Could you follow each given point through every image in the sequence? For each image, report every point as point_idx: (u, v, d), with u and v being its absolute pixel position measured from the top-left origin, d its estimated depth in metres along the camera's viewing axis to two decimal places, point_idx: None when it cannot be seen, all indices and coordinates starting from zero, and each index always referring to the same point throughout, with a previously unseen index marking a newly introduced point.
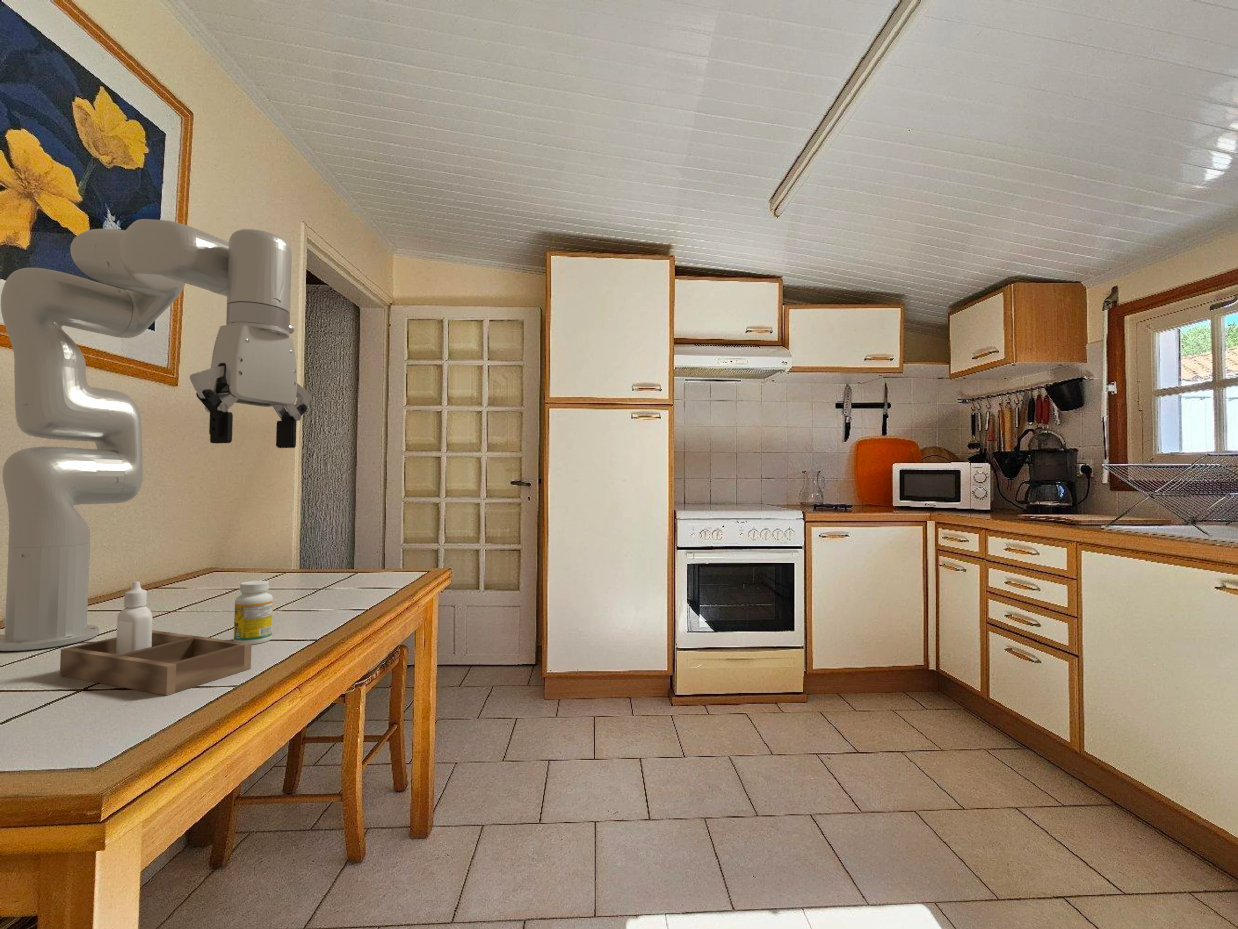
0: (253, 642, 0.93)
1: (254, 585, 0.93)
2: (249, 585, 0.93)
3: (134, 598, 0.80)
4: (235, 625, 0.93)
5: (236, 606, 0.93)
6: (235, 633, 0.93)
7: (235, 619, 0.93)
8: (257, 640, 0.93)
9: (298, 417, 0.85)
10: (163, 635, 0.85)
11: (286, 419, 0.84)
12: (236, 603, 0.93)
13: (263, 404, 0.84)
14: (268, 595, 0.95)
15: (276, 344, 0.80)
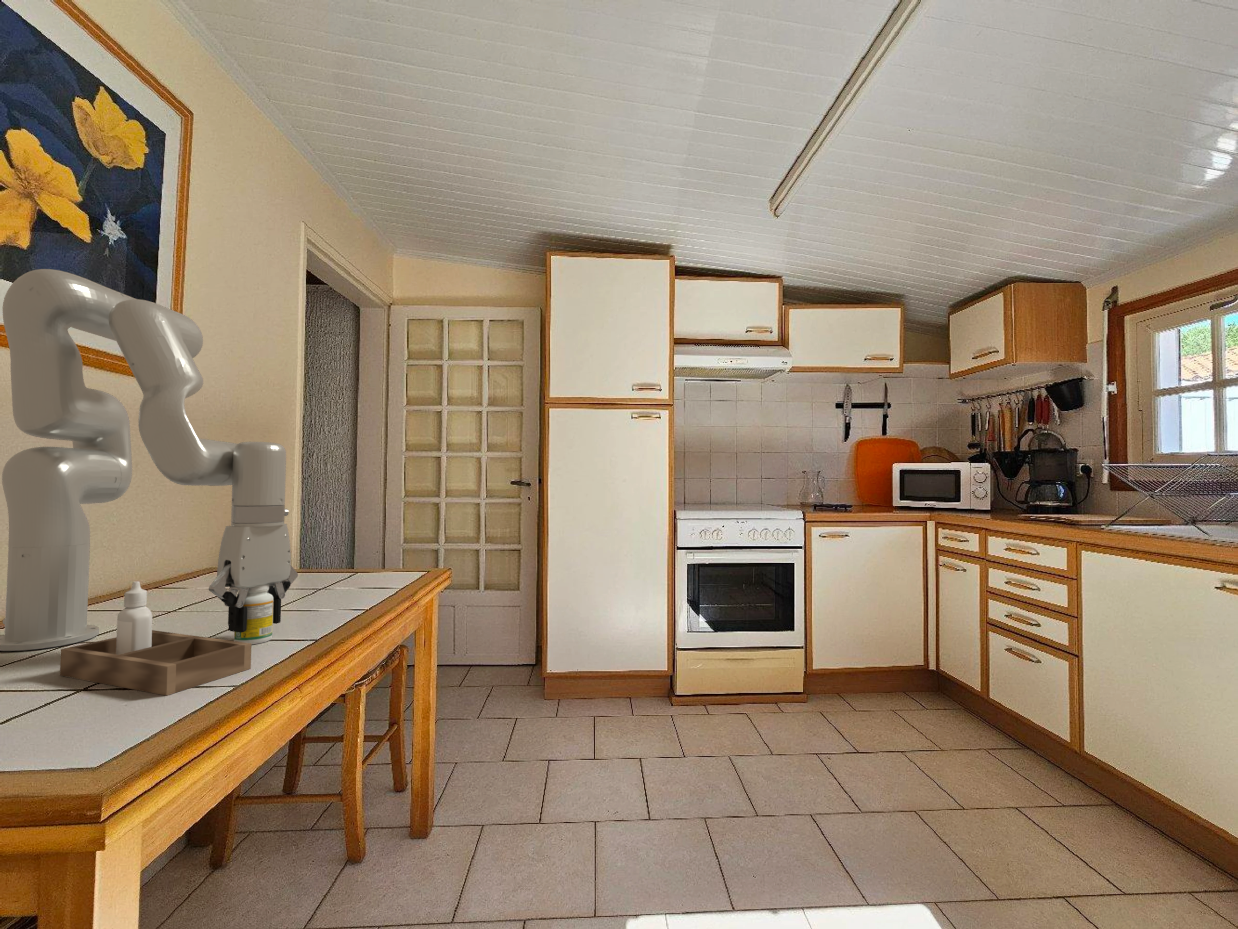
0: (253, 642, 0.93)
1: None
2: None
3: (134, 598, 0.80)
4: None
5: None
6: (235, 633, 0.93)
7: None
8: (257, 640, 0.93)
9: (282, 595, 0.98)
10: (163, 635, 0.85)
11: None
12: None
13: None
14: (268, 595, 0.95)
15: (273, 534, 0.95)
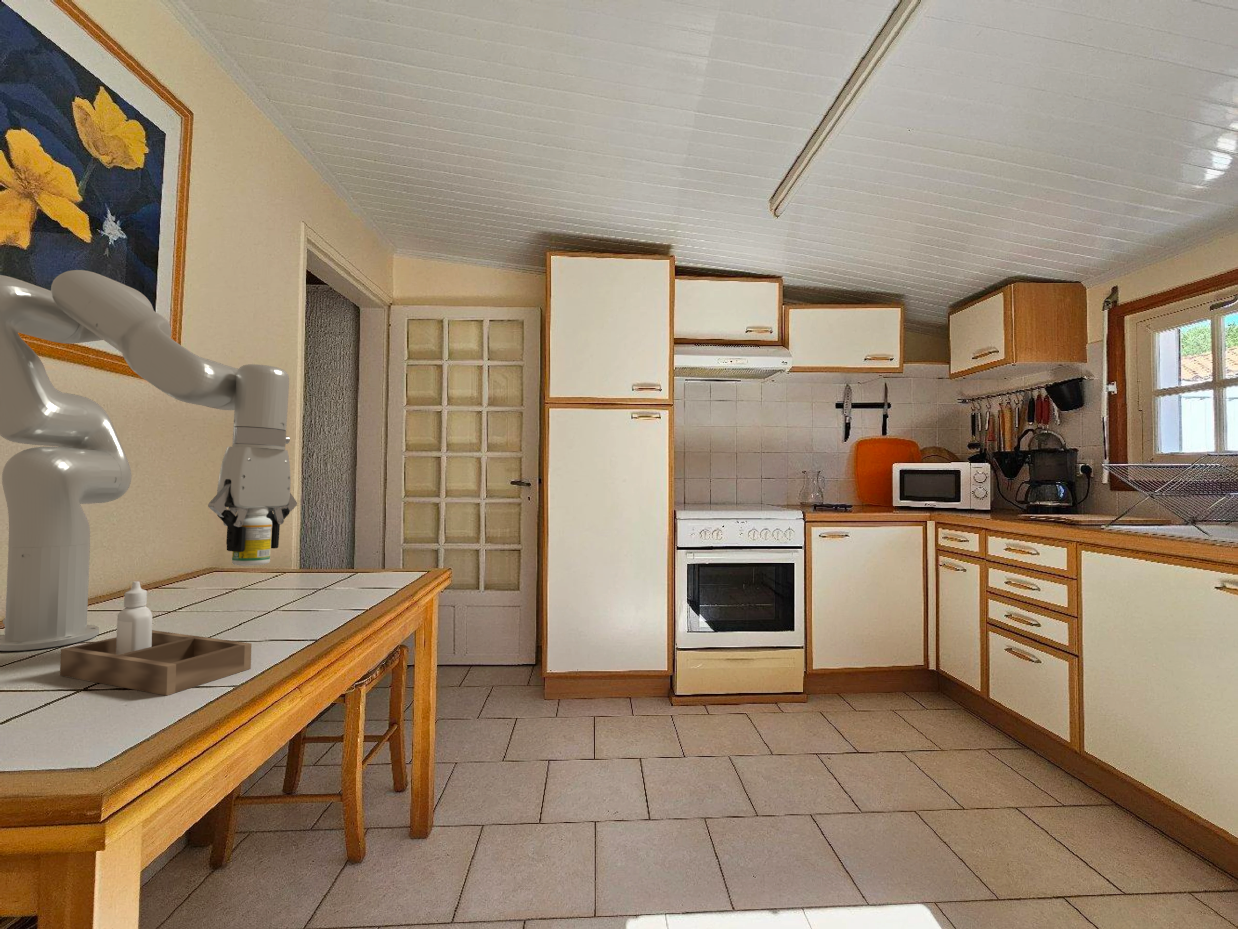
0: (251, 563, 0.93)
1: None
2: None
3: (134, 598, 0.80)
4: None
5: None
6: (233, 553, 0.93)
7: None
8: (255, 561, 0.93)
9: (281, 521, 0.99)
10: (163, 635, 0.85)
11: None
12: None
13: None
14: (267, 519, 0.96)
15: (273, 458, 0.96)
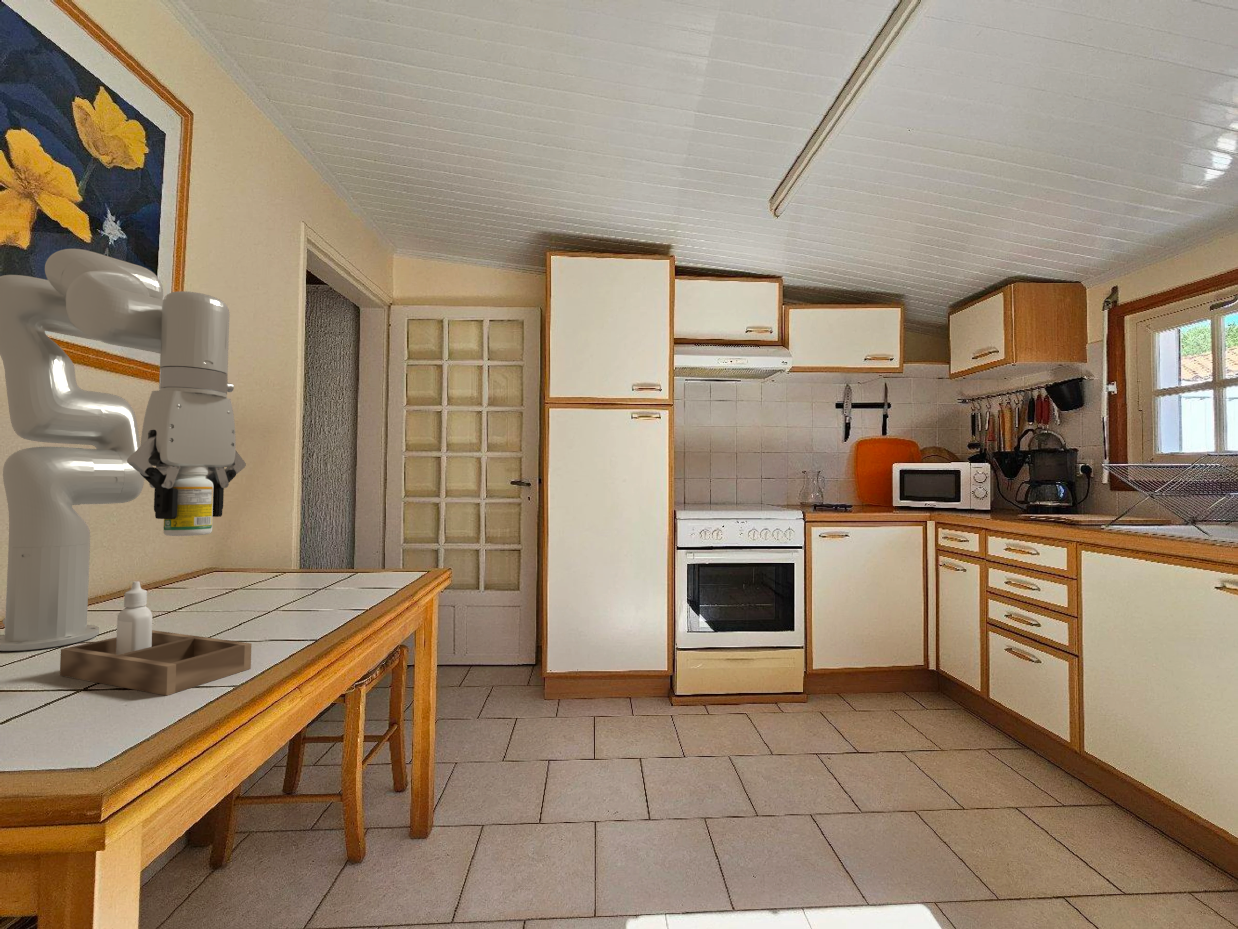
0: (187, 533, 0.76)
1: None
2: None
3: (134, 598, 0.80)
4: None
5: None
6: (165, 522, 0.76)
7: None
8: (192, 531, 0.77)
9: (225, 484, 0.82)
10: (163, 635, 0.85)
11: None
12: None
13: None
14: (207, 480, 0.79)
15: (212, 407, 0.79)
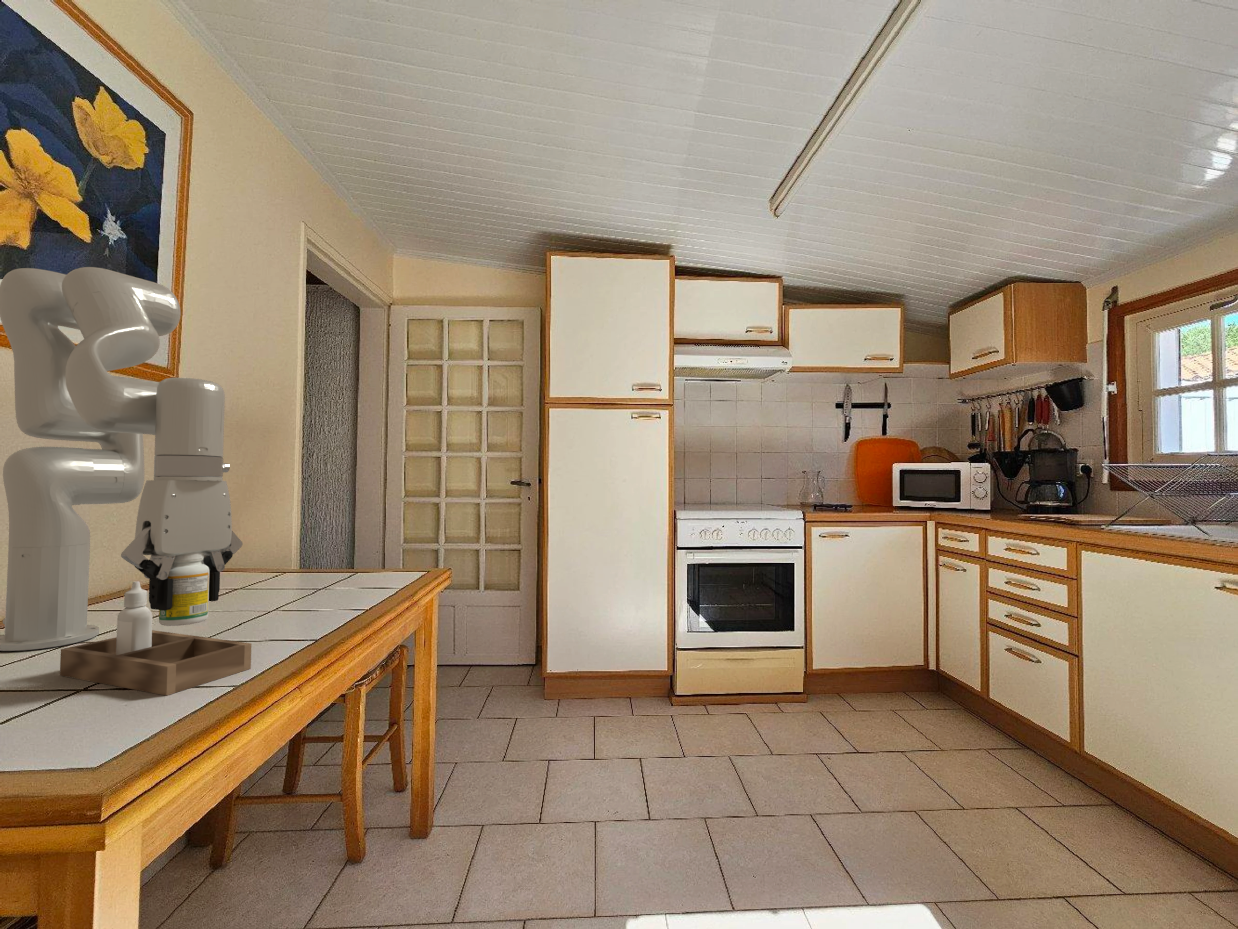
0: (182, 622, 0.75)
1: None
2: None
3: (134, 598, 0.80)
4: None
5: None
6: (160, 611, 0.75)
7: None
8: (187, 620, 0.76)
9: (221, 567, 0.81)
10: (163, 635, 0.85)
11: None
12: None
13: None
14: (202, 566, 0.78)
15: (207, 492, 0.78)
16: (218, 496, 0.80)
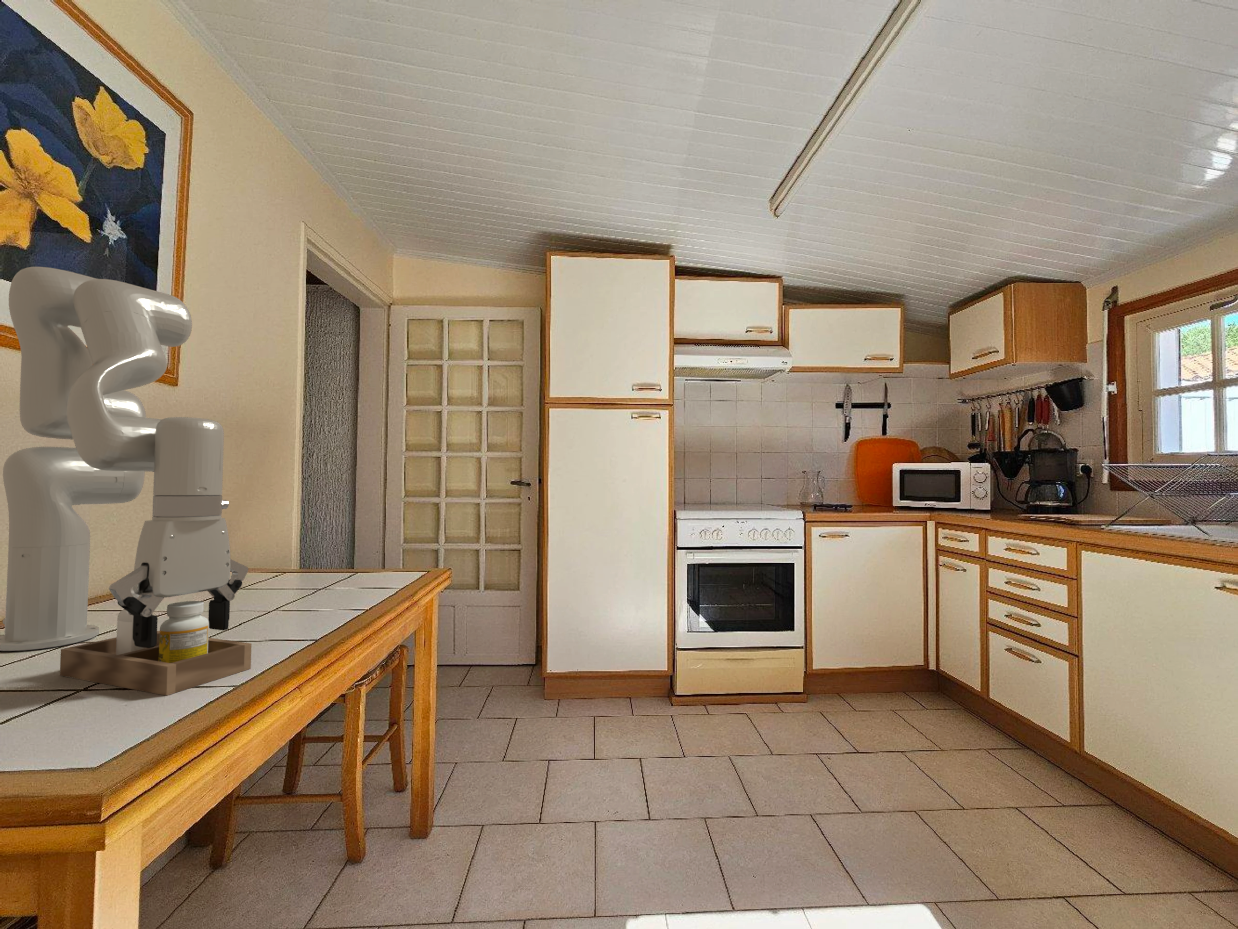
0: None
1: (183, 607, 0.76)
2: (177, 607, 0.76)
3: None
4: (159, 656, 0.76)
5: (161, 633, 0.76)
6: None
7: (159, 649, 0.76)
8: None
9: (231, 596, 0.83)
10: None
11: (218, 600, 0.82)
12: (161, 629, 0.76)
13: None
14: (202, 619, 0.78)
15: (206, 531, 0.78)
16: (217, 534, 0.79)
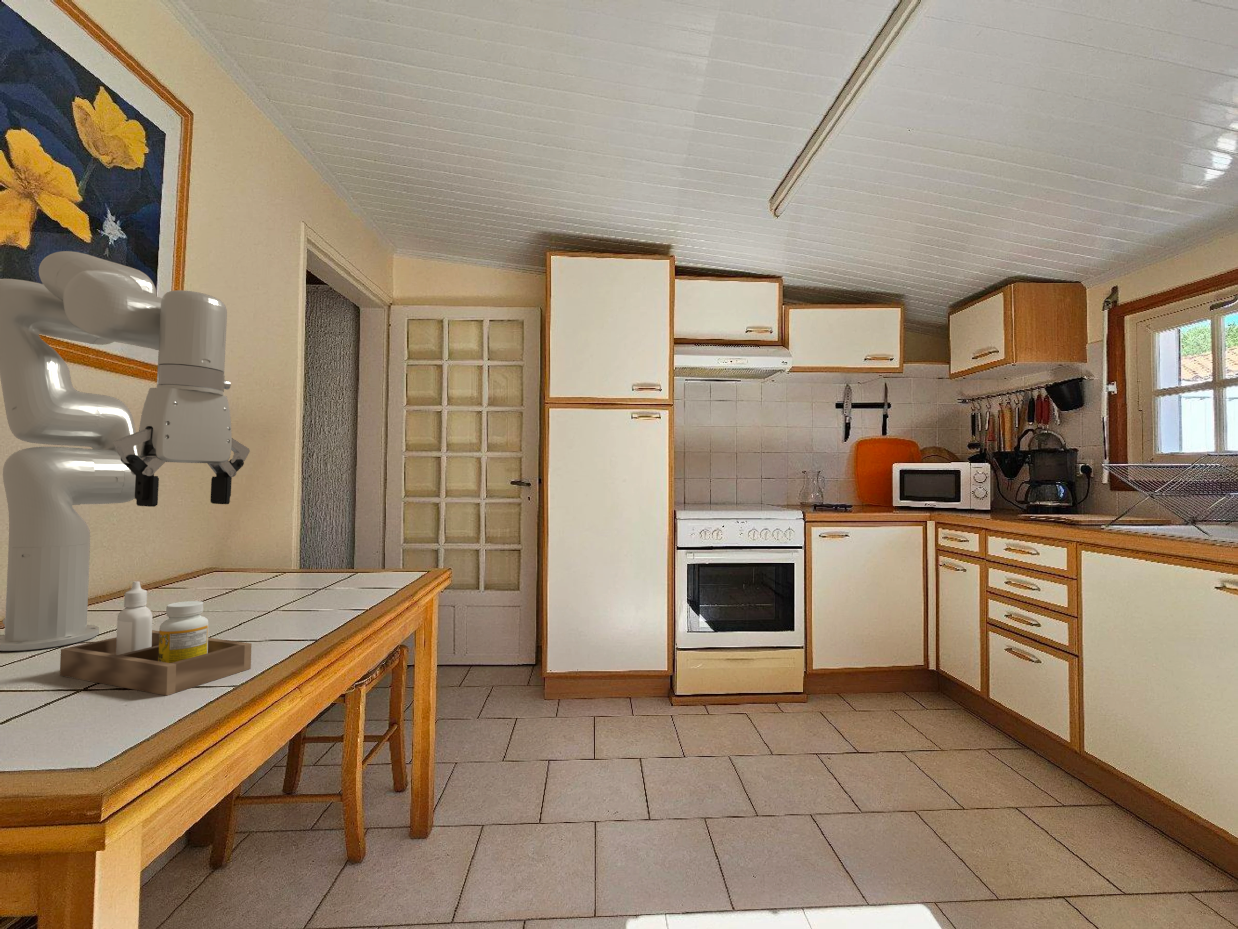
0: None
1: (183, 607, 0.76)
2: (177, 607, 0.76)
3: (134, 598, 0.80)
4: (159, 656, 0.76)
5: (160, 633, 0.76)
6: None
7: (159, 649, 0.76)
8: None
9: (233, 473, 0.85)
10: None
11: (220, 475, 0.85)
12: (160, 629, 0.76)
13: None
14: (202, 619, 0.78)
15: (208, 404, 0.80)
16: (219, 409, 0.82)
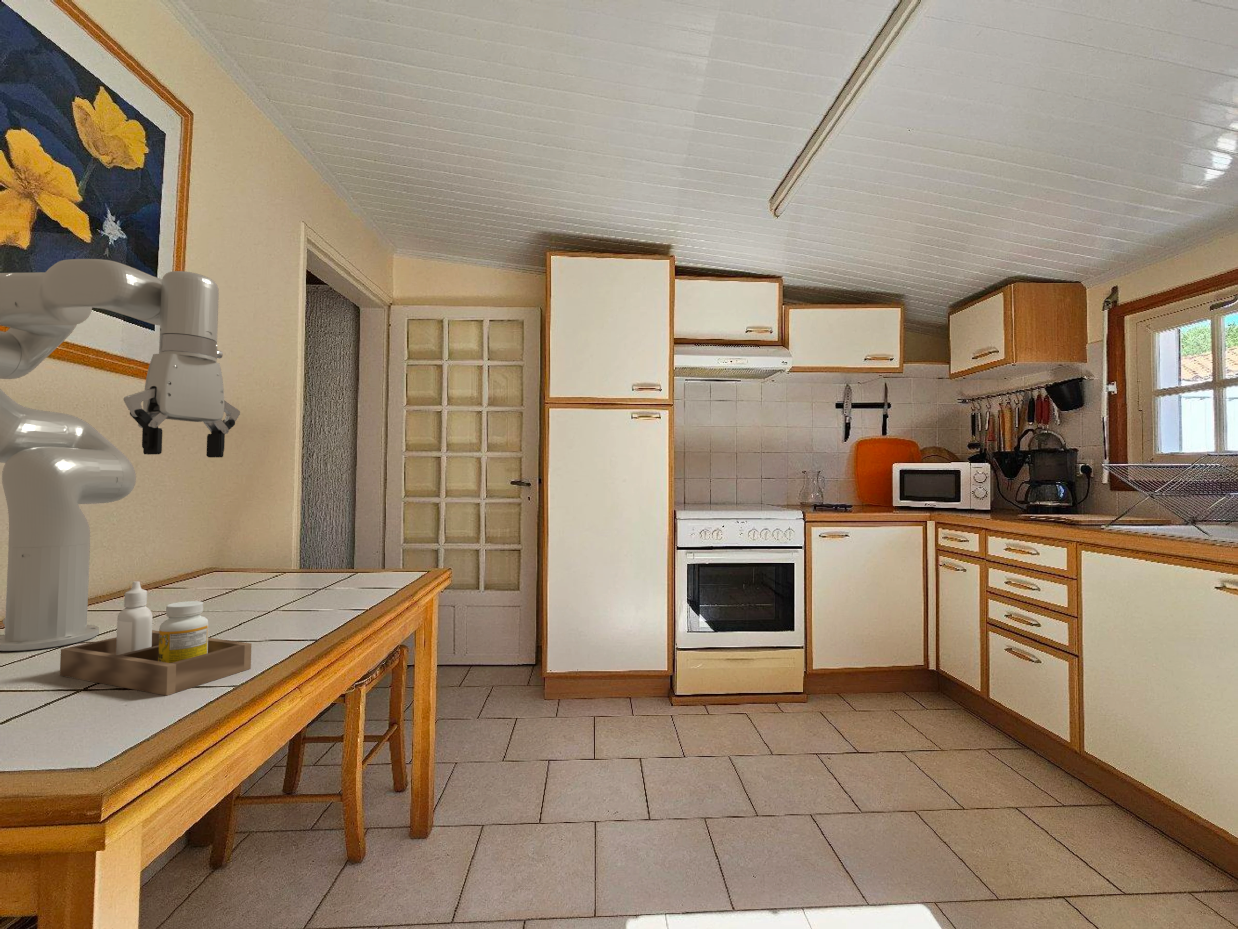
0: None
1: (183, 607, 0.76)
2: (176, 607, 0.76)
3: (134, 598, 0.80)
4: (159, 657, 0.76)
5: (160, 633, 0.76)
6: None
7: (159, 649, 0.76)
8: None
9: (226, 431, 0.98)
10: None
11: (215, 432, 0.97)
12: (160, 630, 0.76)
13: (195, 419, 0.97)
14: (201, 619, 0.78)
15: (203, 369, 0.93)
16: (212, 374, 0.95)
